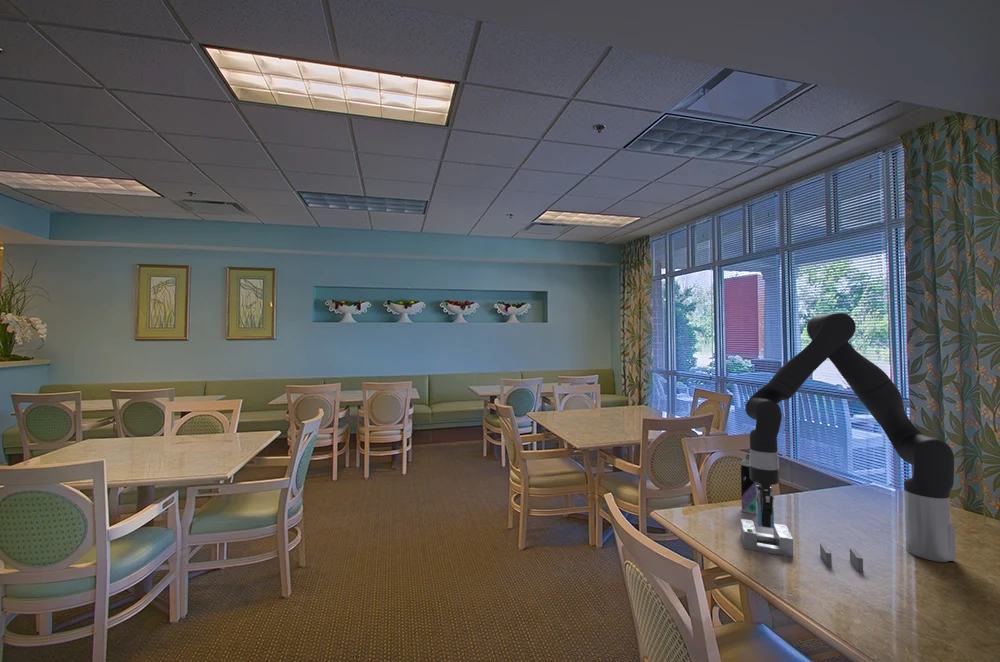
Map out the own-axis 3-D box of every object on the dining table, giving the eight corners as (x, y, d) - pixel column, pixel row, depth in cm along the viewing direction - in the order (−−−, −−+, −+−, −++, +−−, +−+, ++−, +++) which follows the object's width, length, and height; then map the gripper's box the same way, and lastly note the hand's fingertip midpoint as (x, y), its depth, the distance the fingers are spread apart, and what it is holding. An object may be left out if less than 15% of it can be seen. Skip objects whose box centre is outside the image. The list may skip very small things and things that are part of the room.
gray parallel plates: (855, 561, 117) (855, 548, 118) (863, 572, 112) (862, 558, 112) (820, 555, 121) (820, 543, 121) (826, 565, 115) (825, 552, 115)
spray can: (742, 512, 152) (740, 455, 152) (741, 507, 157) (740, 452, 157) (760, 515, 149) (758, 457, 150) (759, 509, 154) (757, 453, 155)
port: (786, 542, 129) (786, 523, 129) (793, 557, 120) (792, 536, 120) (741, 534, 134) (740, 516, 134) (744, 549, 125) (743, 529, 125)
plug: (771, 523, 128) (771, 499, 128) (773, 528, 125) (773, 504, 125) (756, 521, 130) (755, 497, 130) (758, 526, 126) (757, 502, 126)
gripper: (783, 473, 120) (784, 535, 119) (774, 460, 133) (775, 516, 132) (752, 470, 123) (753, 530, 122) (746, 458, 136) (747, 512, 135)
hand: (765, 523), depth 127 cm, fingers closed on plug, 4 cm apart
